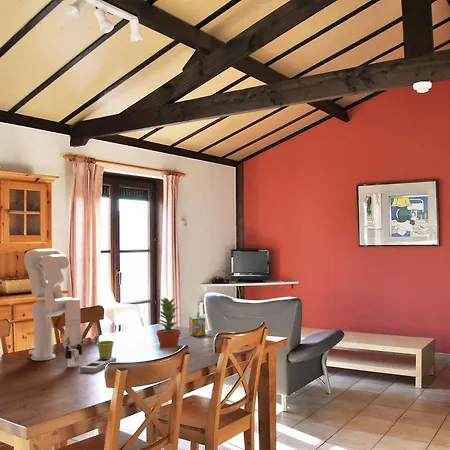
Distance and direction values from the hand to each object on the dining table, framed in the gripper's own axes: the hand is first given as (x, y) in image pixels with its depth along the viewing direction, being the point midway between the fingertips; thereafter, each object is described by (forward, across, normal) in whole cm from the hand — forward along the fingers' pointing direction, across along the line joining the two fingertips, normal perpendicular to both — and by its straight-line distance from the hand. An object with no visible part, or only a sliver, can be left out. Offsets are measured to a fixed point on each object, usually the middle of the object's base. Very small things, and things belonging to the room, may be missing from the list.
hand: (73, 356), depth 267 cm
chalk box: (+5, -92, +35) cm, 99 cm away
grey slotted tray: (+5, -1, +13) cm, 14 cm away
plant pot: (+5, -19, +7) cm, 21 cm away
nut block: (+5, 0, -1) cm, 5 cm away
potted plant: (+5, -56, +29) cm, 64 cm away
